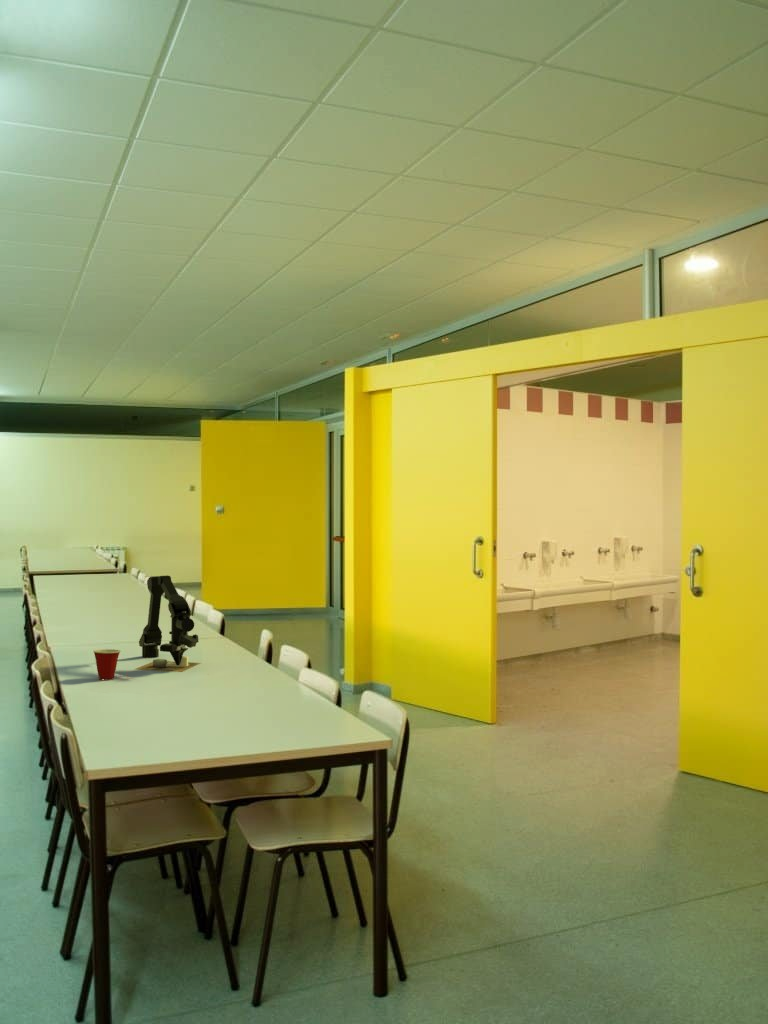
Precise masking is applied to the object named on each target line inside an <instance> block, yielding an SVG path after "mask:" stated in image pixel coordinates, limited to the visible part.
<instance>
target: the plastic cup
mask: <svg viewBox="0 0 768 1024" xmlns="http://www.w3.org/2000/svg"><path fill="white" fill-rule="evenodd" d="M121 652H122V651H121V650H120V649H112V648H111V649H109V648H105V649H104V648H103V649H101V648H100V649H99V648H98V649H94V650H93V654H94V658H95V665H96V669H97V671H96V672H97V673H98V679H99V680H100V679H104V680H103V681H106V680H105V679H112V678H114V679H115V676H116V675H115V674H116V671H117V666H118V660H119V659H118V658H119V656H120V653H121ZM112 680H113V679H112Z"/></svg>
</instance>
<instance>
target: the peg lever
mask: <svg viewBox="0 0 768 1024" xmlns="http://www.w3.org/2000/svg"><path fill="white" fill-rule="evenodd" d="M167 661H168V659H165V658H155V659H153V660H152V662H153V667H166V666H177V667H187V666H188V662H189V656H186V655H183V656H182V659H181V662H180V665H176V663H167Z"/></svg>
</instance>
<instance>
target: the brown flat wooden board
mask: <svg viewBox="0 0 768 1024" xmlns="http://www.w3.org/2000/svg"><path fill="white" fill-rule="evenodd" d="M167 663H175V661H174V660H171V661H168V660H167ZM200 664H202V662H189V661H188V666H187V667H177V666H166V667H153V661H151V662H149V663H146V664H144V665H142V666H139V667H136V668H135V670H140V671H141V670H142V671H153V672H154V671H158V672H160V671H161V672H173V673H176V672H177V673H183V672H185V671H187V670H190V669H192V668H195V667H196V666H198V665H200Z"/></svg>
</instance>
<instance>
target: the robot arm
mask: <svg viewBox="0 0 768 1024" xmlns="http://www.w3.org/2000/svg"><path fill="white" fill-rule="evenodd" d="M146 585H147V590H148V592H149V594H150V597H149V608H148V618H147V624H146V625H145V627H144V628H143V630H142V634H141V635H140V638H139V640H138V645H139V647H141V653H142V655H141V656H142V657H141V658H144V659H158V658H159V656H160V655H159V654H160V653H159V652H164V653H166V652H167V653H170V655H171V657H172V659H173V662H175V663H176V665H180V662H181V659H182V656H184V653H185V652H186V651H188V650H189V648H190V649H191V648H193V647H194V648H195V647H196V646H197V643H199V635H198V634H196V633H195V634H192V635H189V632H191V631H193V629H194V627H195V622H194V620H193V619H192V618H191V616H192V611H191V608H190V605H189V603H188V601H187V600H186V599H185V597H184V596H182V595H180V594H179V593H178V590H177V589H176V587H175V585H174V583H173V581H172V577H171V575H167V574H166V575H156V576H155V575H154V576H152V575H151V576H149V577H148V579H147V580H146ZM164 594H165V596H166V598H167V600H168V604H167V607H168V612H169V613H170V618H171V619H170V621H171V631H169V632H168V633H169V635H171V636H170V637H171V639H170V641H168V643H163V644H162V638H163V636H162V633H163V632H162V629H161V628H160V626H159V624H160V623H159V622H160V621H159V620H160V613H161V612H160V611H161V605H162V603H161V602H162V596H163V595H164ZM158 647H159V648H158Z"/></svg>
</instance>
